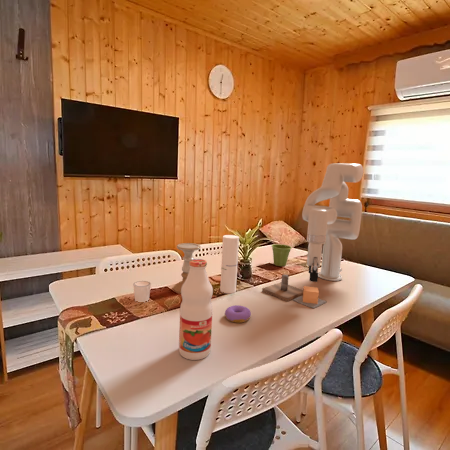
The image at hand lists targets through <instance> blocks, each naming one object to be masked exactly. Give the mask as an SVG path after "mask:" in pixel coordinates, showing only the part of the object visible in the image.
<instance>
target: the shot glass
mask: <svg viewBox="0 0 450 450" xmlns="http://www.w3.org/2000/svg"><path fill="white" fill-rule="evenodd" d="M132 285H133V286H132V287H133V293H134V302H136V301H138V302H144V303H146V302H145V301H147V302H149V301H150V295H151V294H150V293H151V285H152V283H151V282H150V281H146V280H139V281H136V282H134V283H133V284H132ZM148 300H149V301H148ZM138 302H137V303H138Z"/></svg>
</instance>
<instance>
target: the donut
mask: <svg viewBox="0 0 450 450" xmlns="http://www.w3.org/2000/svg"><path fill="white" fill-rule="evenodd" d="M251 312H252V311H251V310H250V308H248V307H247V306H243V305H230V306H228V307H227V308H226V309H225V311H224V316H225V319H227V320H228V321H229V322H231V323H234V324H235V323H237V324H238V323H239V324H240V323H245V322H247V321H248V320H250V318H251V316H252V313H251Z"/></svg>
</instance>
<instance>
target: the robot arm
mask: <svg viewBox="0 0 450 450" xmlns="http://www.w3.org/2000/svg"><path fill="white" fill-rule="evenodd" d="M325 171H326V172H325V174H324V176H323V177H324V178H323V180H322V183H321V186H320V187H319V188H317V189H315V190H314V191H312V192H311V193H310V194H309V195H308V196H307V198H306V200H305V202H304V204H303V208H302V212H301V213H302V214H301V215H302V217H301V218H302V220H303V221H304V222H307V224H308V225H307V235H306V242H307V243H308V247H307V257H306V258H307V259H306V264H307V266H308V273H309V280H308V281H309V282H312V283H313V282H314V283H317V282H318V280H319V278H320V279H322V280H325V281H332V282H339V281H341V280H342V281H343V276H342V275H341V274H340V272H341V273H342V272H343V268H341V265H342V263H341V262H342V254H343V244H342V241H341V239H346V240H356V239H358V237H359V235H360V230H361V221H362V214H363V213H362V212H363V205H362V201H360V200H359V199H354V198H353V199H352V198H348V197H349V187H348V184H347V183H359V182H360V181H361V180H362V179H363V177H364V167H363V165H362V164H360V163H345V162H342V163H341V162H337V163H334V162H333V163H329V164H328V165H327V166H326V170H325ZM327 200H329V204H328V205H329V206H326V205H316V204H318V203H320V202H322V201H327ZM338 217H339V218H338ZM340 217H341V218H349V219H350V220H347V219H340ZM320 266H321V267H320ZM319 267H320V271H319Z"/></svg>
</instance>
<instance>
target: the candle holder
mask: <svg viewBox="0 0 450 450" xmlns="http://www.w3.org/2000/svg"><path fill="white" fill-rule="evenodd" d="M176 249H178V250H180V251H182V252H183V254H184V256H183V257H182V260H183V264H182V266H181V271H182V273H181V275H180V276H181V277H182V279H181V281H179V282H177V283H175V284H174V285H173V290H174V292H176V293H177V294H178V293H179V294H181V288H182V285H183V284H184V282H185V281H186V279H187V276H188V273H189V271H190V266H189V262H190V260H192V259H195V258H194V256H193V254H194V252H195V251H199V250H200V249H201V245H200V244H197V243H191V242H184V243H178V244H177V245H176Z"/></svg>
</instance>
